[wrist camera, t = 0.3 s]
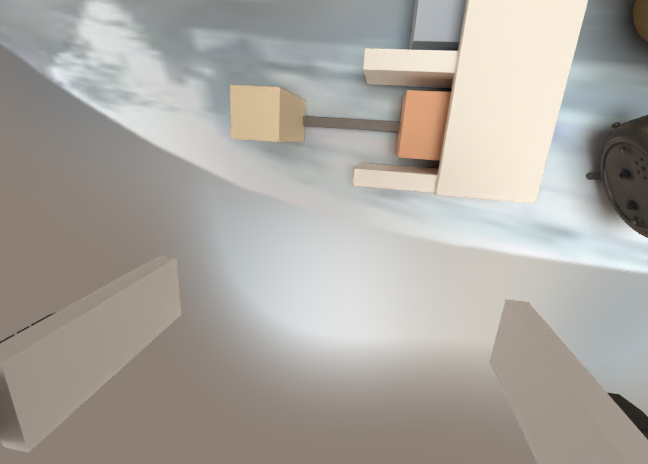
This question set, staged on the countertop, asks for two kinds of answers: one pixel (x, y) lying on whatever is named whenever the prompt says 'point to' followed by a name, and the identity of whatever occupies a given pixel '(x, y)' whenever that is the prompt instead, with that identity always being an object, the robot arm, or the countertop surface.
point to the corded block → (337, 119)
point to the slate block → (437, 24)
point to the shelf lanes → (487, 99)
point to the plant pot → (641, 18)
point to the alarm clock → (627, 172)
